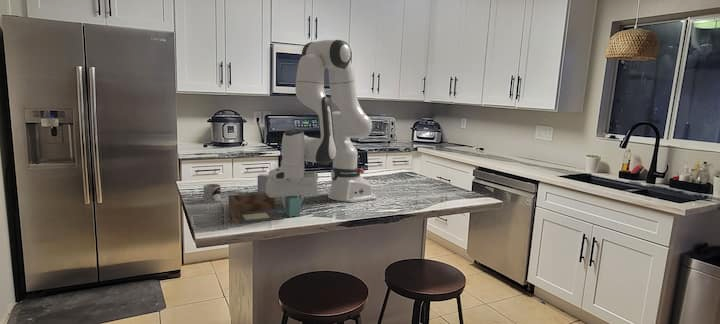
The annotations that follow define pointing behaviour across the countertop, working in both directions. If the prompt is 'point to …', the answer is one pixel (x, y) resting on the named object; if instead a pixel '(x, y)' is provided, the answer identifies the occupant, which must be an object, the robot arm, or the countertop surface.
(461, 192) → the countertop surface
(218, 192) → the mug
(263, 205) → the corner walls
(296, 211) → the teal block
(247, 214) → the mat
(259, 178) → the medicine box
